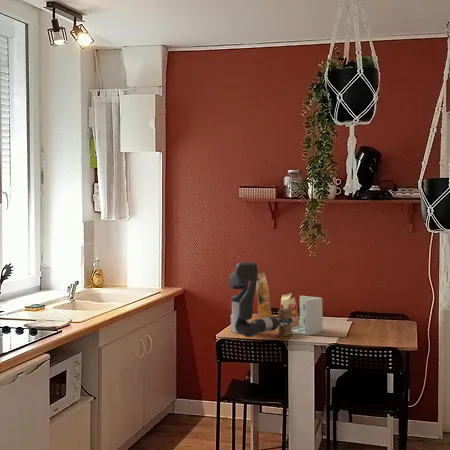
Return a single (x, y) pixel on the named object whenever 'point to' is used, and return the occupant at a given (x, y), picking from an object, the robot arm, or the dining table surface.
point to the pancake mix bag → (263, 296)
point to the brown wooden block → (285, 314)
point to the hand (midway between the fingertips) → (288, 320)
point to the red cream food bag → (290, 303)
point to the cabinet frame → (310, 316)
